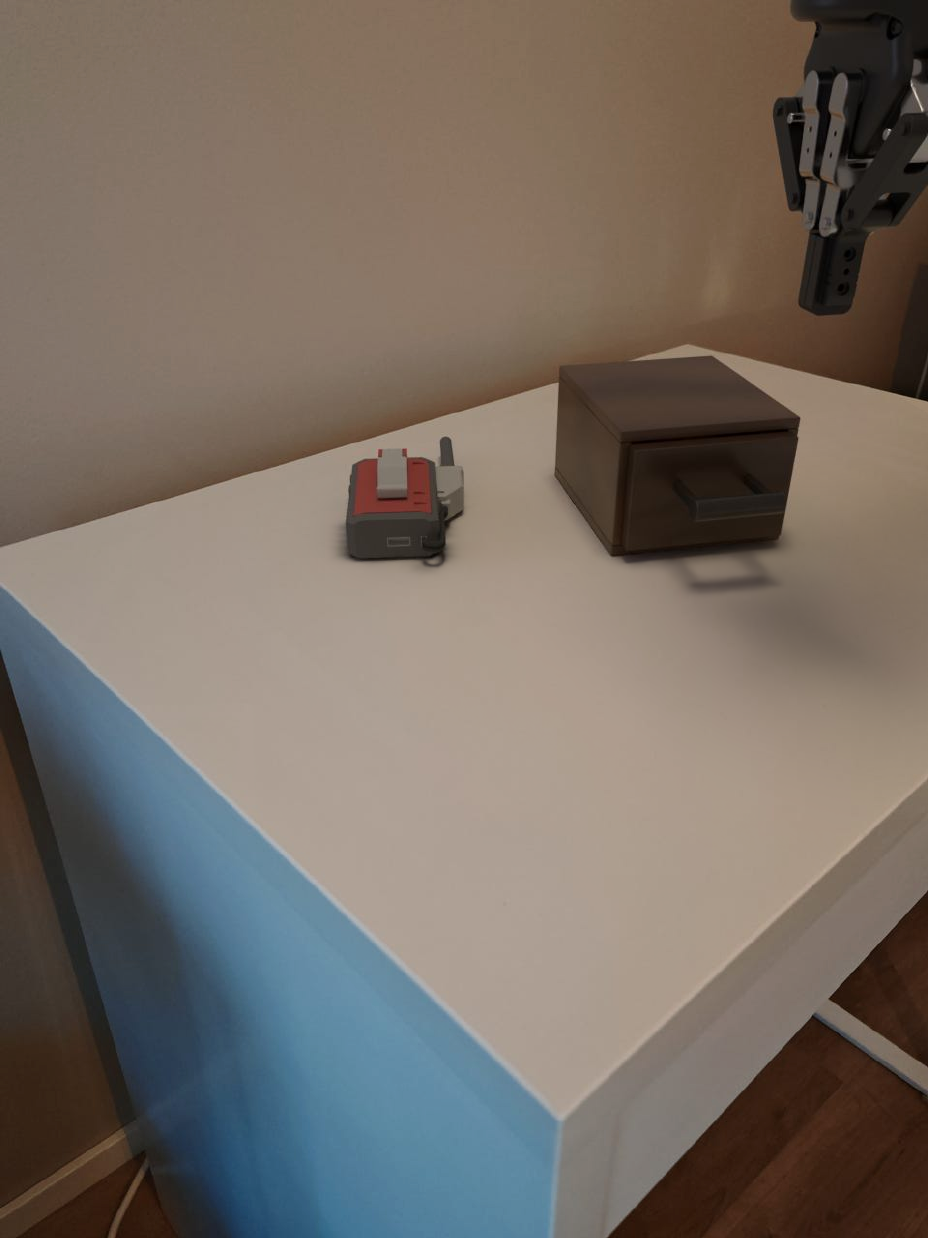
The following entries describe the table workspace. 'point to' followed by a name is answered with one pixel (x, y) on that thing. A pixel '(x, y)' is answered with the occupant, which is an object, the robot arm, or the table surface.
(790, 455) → the drawer
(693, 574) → the table surface
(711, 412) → the cabinet
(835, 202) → the robot arm
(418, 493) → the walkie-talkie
